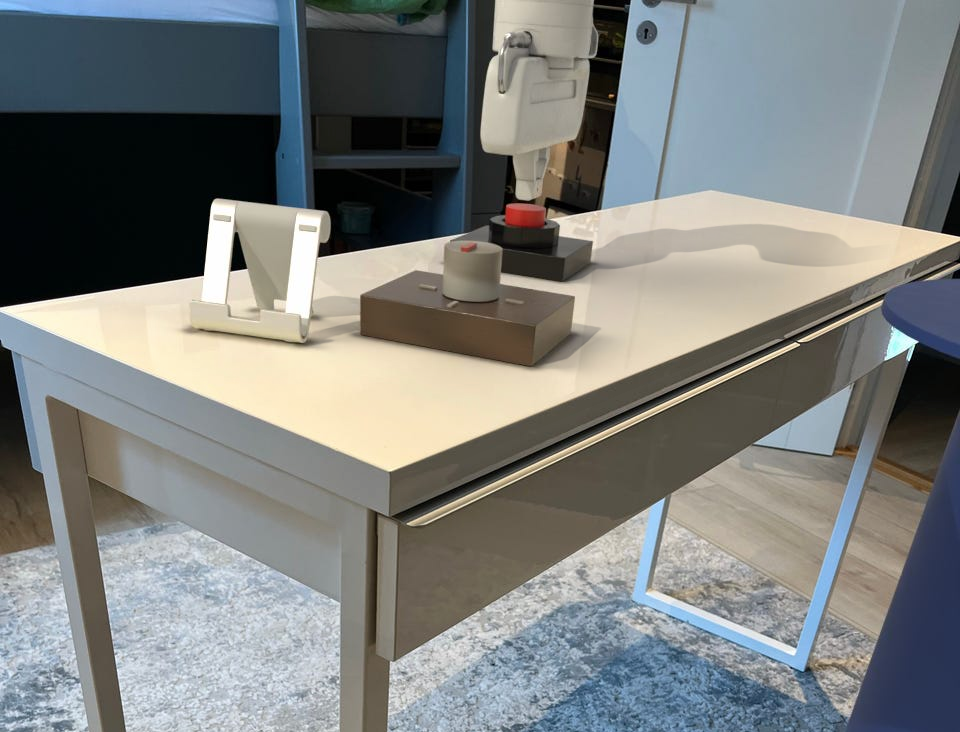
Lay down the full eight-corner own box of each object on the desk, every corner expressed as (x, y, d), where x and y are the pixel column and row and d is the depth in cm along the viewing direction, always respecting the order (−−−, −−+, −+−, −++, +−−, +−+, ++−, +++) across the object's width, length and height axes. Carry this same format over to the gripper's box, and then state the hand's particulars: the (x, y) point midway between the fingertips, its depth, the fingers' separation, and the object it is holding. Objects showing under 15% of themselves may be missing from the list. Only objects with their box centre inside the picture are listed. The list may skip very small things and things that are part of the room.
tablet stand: (190, 331, 71) (178, 210, 66) (236, 306, 78) (228, 194, 73) (299, 346, 70) (295, 224, 65) (337, 320, 76) (335, 207, 72)
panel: (571, 334, 78) (575, 293, 76) (531, 366, 70) (535, 322, 68) (414, 306, 81) (415, 267, 80) (359, 334, 73) (359, 292, 72)
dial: (453, 284, 76) (456, 233, 74) (506, 292, 75) (510, 241, 73) (433, 296, 72) (436, 243, 70) (488, 305, 71) (492, 251, 69)
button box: (590, 263, 100) (595, 222, 98) (562, 281, 93) (567, 237, 90) (484, 246, 104) (487, 207, 101) (448, 263, 96) (450, 220, 94)
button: (549, 225, 97) (551, 206, 96) (537, 231, 94) (538, 212, 93) (512, 220, 98) (514, 201, 97) (499, 226, 95) (500, 207, 94)
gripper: (539, 33, 78) (524, 216, 85) (603, 36, 94) (586, 190, 102) (467, 28, 79) (459, 208, 87) (542, 32, 96) (530, 183, 103)
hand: (528, 198), depth 94 cm, fingers closed
